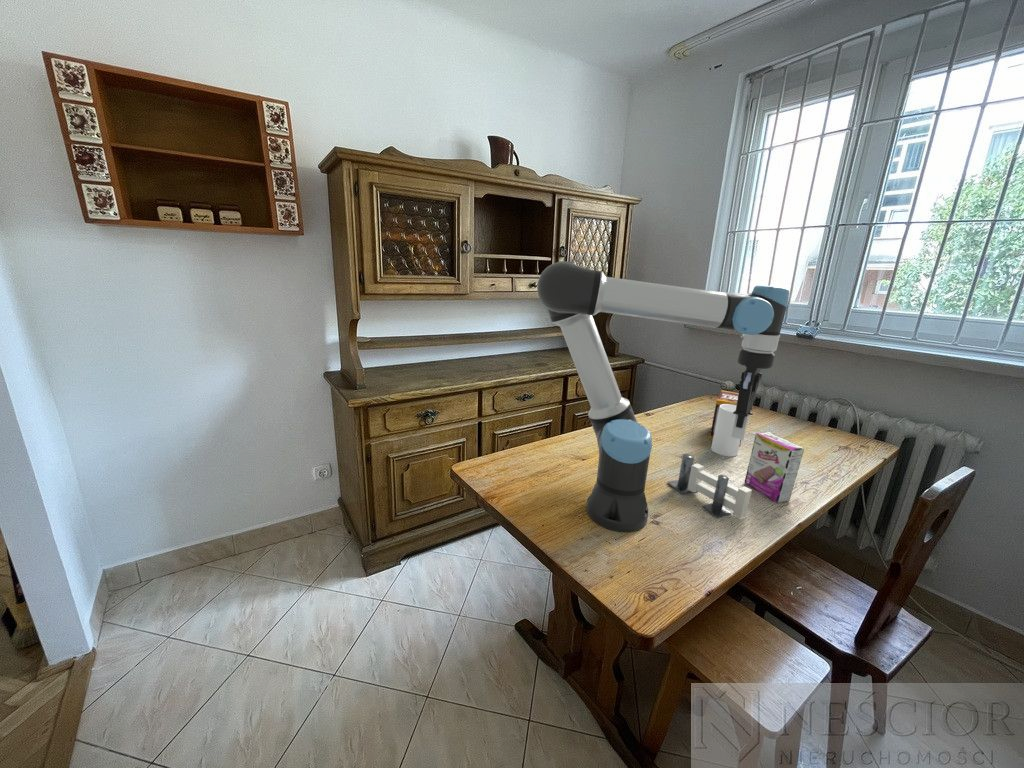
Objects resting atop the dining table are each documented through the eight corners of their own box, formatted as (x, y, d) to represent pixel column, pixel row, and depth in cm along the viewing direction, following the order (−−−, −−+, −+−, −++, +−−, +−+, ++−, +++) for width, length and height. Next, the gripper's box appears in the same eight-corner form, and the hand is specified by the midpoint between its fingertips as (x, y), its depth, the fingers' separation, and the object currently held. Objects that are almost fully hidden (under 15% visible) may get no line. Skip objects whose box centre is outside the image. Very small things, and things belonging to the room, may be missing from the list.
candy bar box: (742, 483, 119) (754, 432, 114) (755, 481, 120) (767, 430, 116) (777, 504, 109) (791, 449, 104) (790, 501, 110) (805, 447, 106)
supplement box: (743, 432, 156) (751, 395, 152) (740, 446, 144) (749, 406, 139) (713, 426, 161) (721, 389, 157) (708, 439, 149) (716, 399, 144)
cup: (740, 457, 135) (750, 413, 130) (714, 454, 136) (723, 411, 132) (732, 447, 143) (742, 405, 138) (708, 444, 144) (716, 403, 139)
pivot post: (682, 494, 111) (688, 462, 109) (667, 483, 117) (672, 452, 114) (698, 491, 113) (705, 459, 111) (683, 480, 119) (689, 450, 116)
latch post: (716, 518, 101) (724, 483, 98) (701, 507, 106) (708, 473, 103) (731, 515, 103) (739, 480, 100) (715, 504, 108) (722, 471, 105)
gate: (686, 488, 113) (691, 464, 110) (692, 486, 114) (696, 463, 112) (740, 518, 100) (746, 492, 98) (745, 516, 101) (752, 490, 99)
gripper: (746, 344, 106) (727, 426, 113) (734, 350, 96) (715, 440, 103) (779, 349, 101) (758, 434, 108) (770, 356, 92) (748, 449, 98)
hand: (737, 437), depth 106 cm, fingers closed
